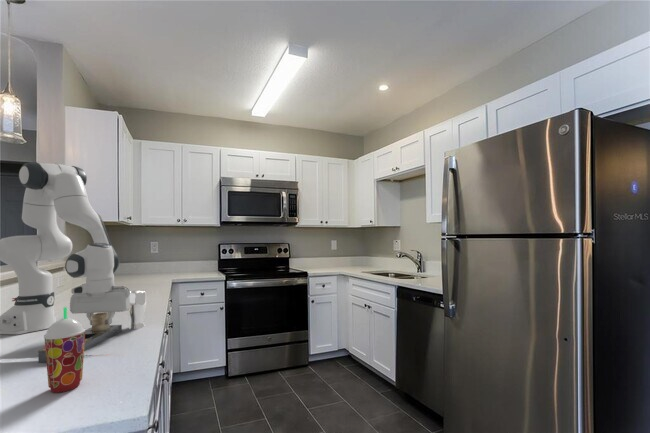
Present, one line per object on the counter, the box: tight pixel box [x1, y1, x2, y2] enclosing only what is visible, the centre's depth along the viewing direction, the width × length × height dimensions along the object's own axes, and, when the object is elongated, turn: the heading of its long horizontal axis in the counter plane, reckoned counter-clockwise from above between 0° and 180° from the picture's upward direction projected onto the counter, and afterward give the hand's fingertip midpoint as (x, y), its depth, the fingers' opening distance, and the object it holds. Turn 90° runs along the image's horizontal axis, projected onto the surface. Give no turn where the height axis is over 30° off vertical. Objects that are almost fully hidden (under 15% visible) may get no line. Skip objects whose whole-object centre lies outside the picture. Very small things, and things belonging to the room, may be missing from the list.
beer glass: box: [127, 289, 147, 330], centre depth 137 cm, size 7×7×15 cm
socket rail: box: [37, 324, 123, 364], centre depth 117 cm, size 27×10×4 cm, turn 2°
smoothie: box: [43, 306, 87, 394], centre depth 86 cm, size 8×8×20 cm
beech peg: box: [91, 312, 111, 331], centre depth 126 cm, size 4×4×8 cm
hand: (100, 324), depth 126 cm, fingers closed on beech peg, 4 cm apart
